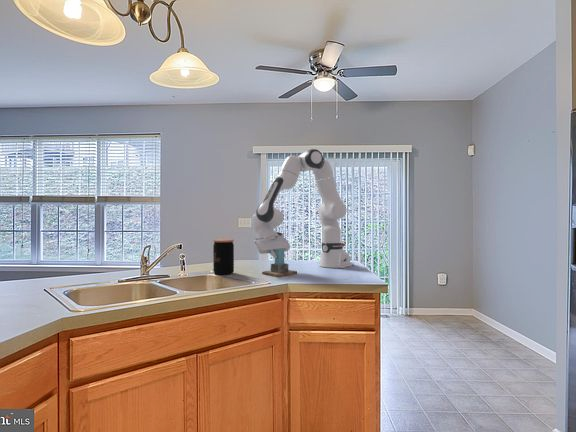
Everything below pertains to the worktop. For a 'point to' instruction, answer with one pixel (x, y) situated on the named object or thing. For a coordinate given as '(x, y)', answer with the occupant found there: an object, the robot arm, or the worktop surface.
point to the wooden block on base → (279, 270)
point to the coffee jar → (223, 256)
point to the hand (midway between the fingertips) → (280, 257)
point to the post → (279, 257)
